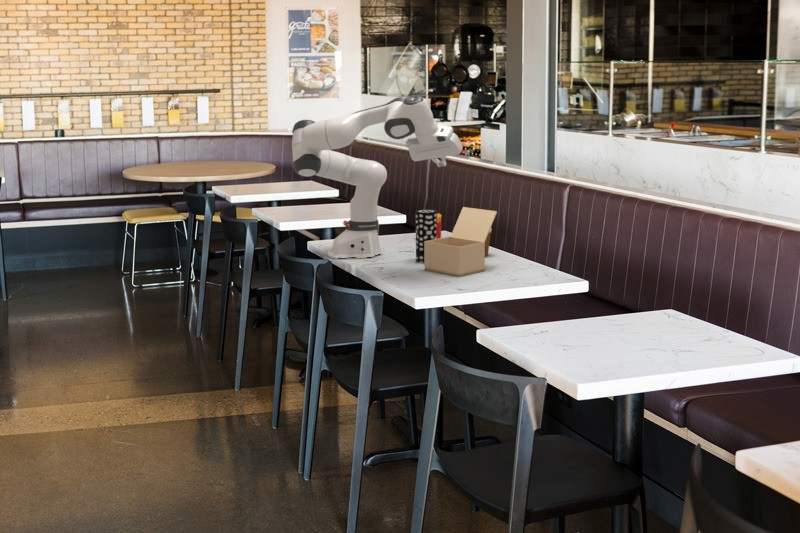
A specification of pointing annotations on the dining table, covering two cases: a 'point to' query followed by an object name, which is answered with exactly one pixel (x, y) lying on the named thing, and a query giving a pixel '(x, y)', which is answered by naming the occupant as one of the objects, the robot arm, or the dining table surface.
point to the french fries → (438, 226)
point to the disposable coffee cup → (487, 243)
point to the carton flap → (473, 224)
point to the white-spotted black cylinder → (425, 230)
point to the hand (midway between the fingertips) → (442, 165)
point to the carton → (454, 256)
